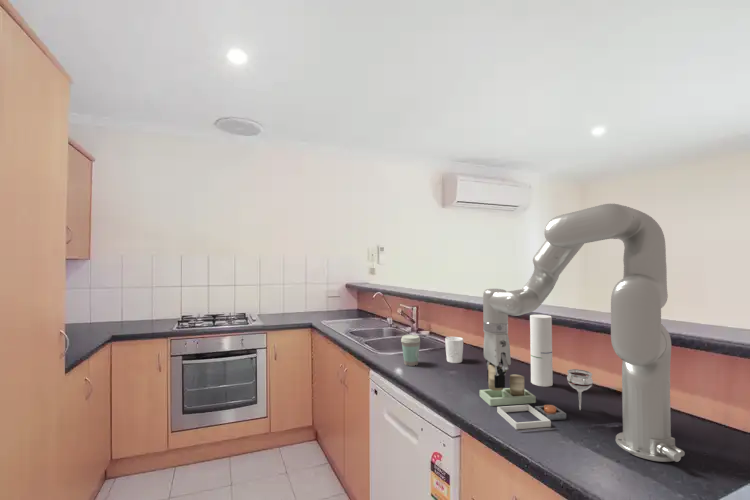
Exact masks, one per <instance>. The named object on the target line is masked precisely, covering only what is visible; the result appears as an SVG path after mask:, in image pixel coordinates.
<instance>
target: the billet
mask: <svg viewBox="0 0 750 500" xmlns="http://www.w3.org/2000/svg"><path fill="white" fill-rule="evenodd" d="M500 368H502V367H498V370H499V369H500ZM487 370H488V379H489V382H488V389H491V390H494V391H501V390H503V388H495V378H494V375H496V372H495V365H494V364H491V365H489V366H488V369H487Z"/></svg>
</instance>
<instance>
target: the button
mask: <svg viewBox="0 0 750 500" xmlns="http://www.w3.org/2000/svg"><path fill="white" fill-rule="evenodd" d="M553 405H554V404H544V405H543V406H544V411H545V412H547V413H556V407H557V406H556V407H555V405H554V406H553Z"/></svg>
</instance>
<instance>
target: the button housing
mask: <svg viewBox="0 0 750 500" xmlns="http://www.w3.org/2000/svg"><path fill="white" fill-rule="evenodd" d="M552 405H553V406H555V405H554V404H552ZM555 407H556V413H547V412H545V411H544V405H537V406H536V405H535V406H534V409H535V410H537V411H538V412H539V413H541V414H542V415H544V416H545V417H546V418H548V419H549V420H550V421H558V420H559V421H560V420H567V413H566V412H564V410H562V409H560V408H559V407H557V406H555Z"/></svg>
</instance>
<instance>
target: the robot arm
mask: <svg viewBox="0 0 750 500" xmlns="http://www.w3.org/2000/svg"><path fill="white" fill-rule="evenodd" d="M545 225H546V226H545V228H544V231H543V232H544V233H543V234H544V237H545V241H544V243H543V244H542V245H541V246H540V247H539V249H538V250H537V252H536V253H535V254H534V256H533V258H532V263H533V265H534V266H533V268H534V269H533V273H532V274H531V276H530V278H529V279H528V281H527V282H526V283H525V285H523V287H522V288H521V289H516V290H508V291H507V290H505V289H502V288H487V289H484V291H483V292H482V294H483V295H482V298H483V300H482V304H483V305H482V307H483V308H482V309H483V310H482V311H483V313H482V315H483V316H482V317H483V321H482V323H483V325H482V326H483V327H482V328H483V333H484V335H483V358H484V359H485V362H486V374H487V375H486V377H487V379H486V381H487V383H489V379H488V366H489V365H491V364H494V365H495V372H496V375H494V378H495V388H506V375H507V374H506V373H507V371H509V366H510V365H511V363H512V361H511V360H512V359H511V346H510V345H511V344H510V338H509V334H508V333H509V316H512V317H517V316H522V315H525V314H529V313H532V312H534V311H536V310H537V309H539V307H540V306H541V305H542V303H544V301H546V299H547V297H548V296H549V295H550V294H551V292H552V291H553V289H554V288H555V285H556V283H557V282H558V280H559V278H560V275H561V274H562V272H563V271H564V269H566V268H567V266H568V265H569V263H570V262H571V261H572V260H573V259H574V257H576V255H577V254H578V252H579V251H580V250H581V249H582V247H583V246H584V245H585V244H590V243H595V242H599V241H604V240H610V239H611V240H612V239H613V240H620V241H622V243H623V246H624V247H623V248H624V249H623V258H622V259H623V260H622V261H623V275H622V277H623V278H622V279H620V280H619V281H618V282H617V283H616V284H615V285H614V286H613V288H612V291H611V292H612V293H611V295H610V296H611V297H610V340H611V341H610V342H611V346H612V348H613V351H614V353H615V354H616V355H617V357H618V358H620V359H621V360H622V364H621V386H622V388H621V390H622V391H621V398H622V402H621V403H622V432H619V433H617V434H616V435H615V443H616V444H617V445H618V446H619V447H620V448H622V449H623V450H624V451H626V452H627V453H628V452H629V454H631V455H632V456H635V457H638V458H641V459H643V460H648V461H652V462H660V463H670V462H676V463H677V462H679V461H681V459H682V457H684V456H685V453H686V452H685V451H684V450H683V449H681V448H679V447H677V446H676V438H675V437H672V433H671V432H672V431H671V429H672V428H671V427H672V423H671V418H672V417H671V358H672V339H671V335H670V333H669V331H668V329H667V328H666V326H664V325H663V324H662V309H663V308H664V306H665V305H666V303H667V302H668V297H669V295H668V284H667V283H668V281H667V279H668V278H667V275H668V274H667V273H668V272H667V268H668V267H667V253H666V249H667V248H666V238H665V235H664V231H663V229H662V227H661V225H660V223H658V222H657V221H656V219H655V218H653V217H652V216H650V215H649V214H647V213H645V212H643V211H641V210H638V209H636V208H633V207H629V206H626V205H622V204H619V203H603V204H600V205H596V206H595V205H594V206H591V207H587V208H584V209H581V210H576V211H571V212H569V213H565V214H561V215H558V216H557V215H556V216H554V217H553V218H552V219H550V220H549V221H548V222H547V223H546V224H545ZM498 367H502V368H500V369H499V370H498Z"/></svg>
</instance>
